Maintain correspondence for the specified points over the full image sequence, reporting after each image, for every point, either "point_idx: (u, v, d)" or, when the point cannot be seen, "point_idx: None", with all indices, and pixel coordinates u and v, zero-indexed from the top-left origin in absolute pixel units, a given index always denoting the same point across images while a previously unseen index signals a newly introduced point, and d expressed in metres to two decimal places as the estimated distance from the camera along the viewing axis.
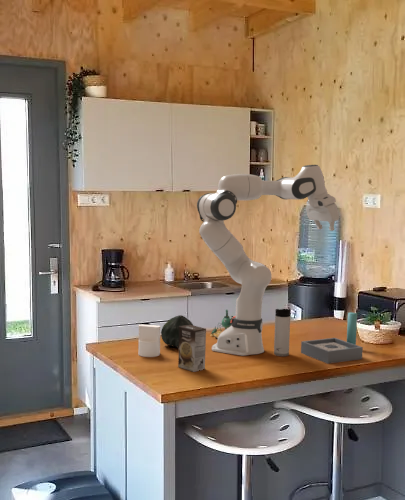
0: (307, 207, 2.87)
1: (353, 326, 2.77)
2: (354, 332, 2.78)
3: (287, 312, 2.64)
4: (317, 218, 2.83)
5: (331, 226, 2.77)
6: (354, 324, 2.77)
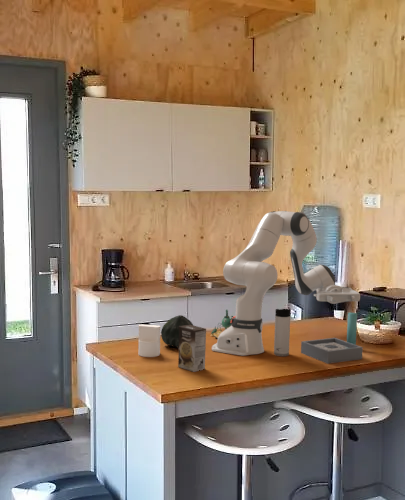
0: None
1: (353, 326, 2.77)
2: (354, 332, 2.78)
3: (287, 312, 2.64)
4: (335, 293, 2.96)
5: None
6: (354, 324, 2.77)
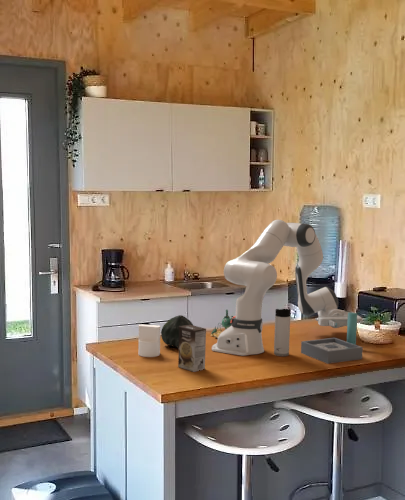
0: (322, 315, 2.96)
1: (353, 326, 2.77)
2: (354, 332, 2.78)
3: (287, 312, 2.64)
4: (337, 318, 2.92)
5: None
6: (354, 324, 2.77)
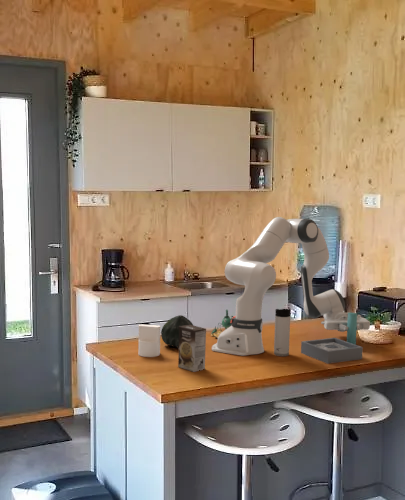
0: (328, 319, 2.88)
1: (353, 326, 2.77)
2: (354, 332, 2.78)
3: (287, 312, 2.64)
4: (344, 321, 2.84)
5: (358, 326, 2.81)
6: (354, 324, 2.77)
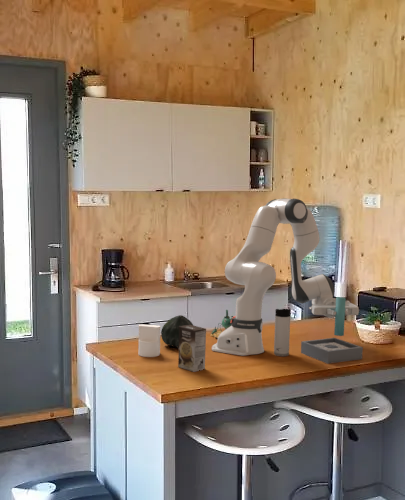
0: (316, 304, 2.79)
1: (341, 311, 2.69)
2: (342, 317, 2.70)
3: (287, 312, 2.64)
4: (332, 306, 2.76)
5: None
6: (342, 309, 2.69)
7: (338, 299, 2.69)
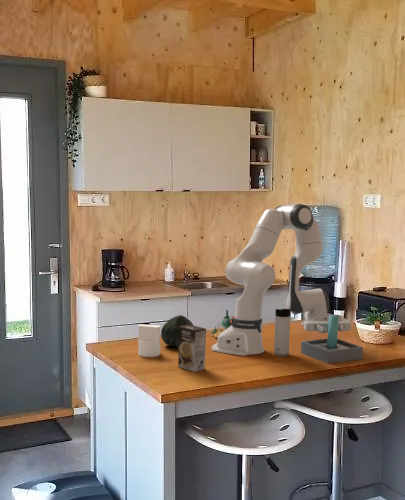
0: (308, 320, 2.76)
1: (334, 329, 2.65)
2: (335, 336, 2.66)
3: (287, 312, 2.64)
4: (324, 322, 2.72)
5: (342, 327, 2.69)
6: (335, 327, 2.65)
7: (331, 317, 2.65)
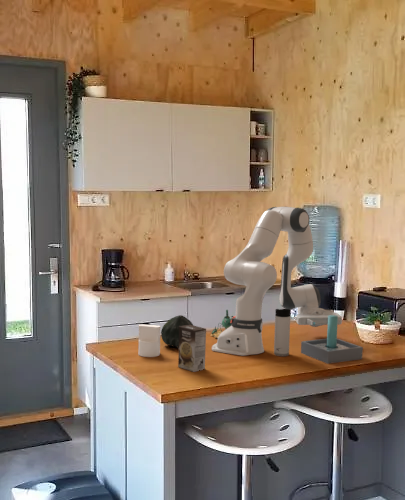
0: (300, 314, 2.87)
1: (333, 329, 2.65)
2: (334, 336, 2.66)
3: (287, 312, 2.64)
4: (316, 316, 2.83)
5: None
6: (334, 327, 2.65)
7: (330, 317, 2.65)
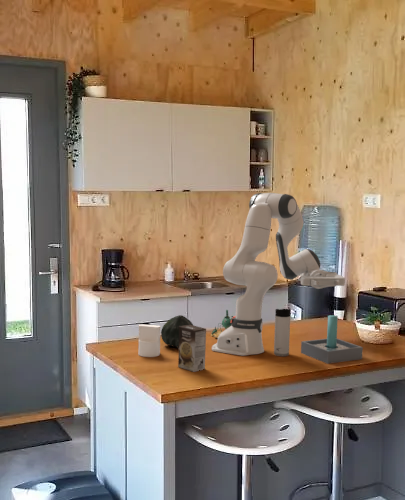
0: (304, 276, 2.93)
1: (333, 329, 2.65)
2: (334, 336, 2.66)
3: (287, 312, 2.64)
4: (320, 277, 2.89)
5: None
6: (334, 327, 2.65)
7: (330, 317, 2.65)
